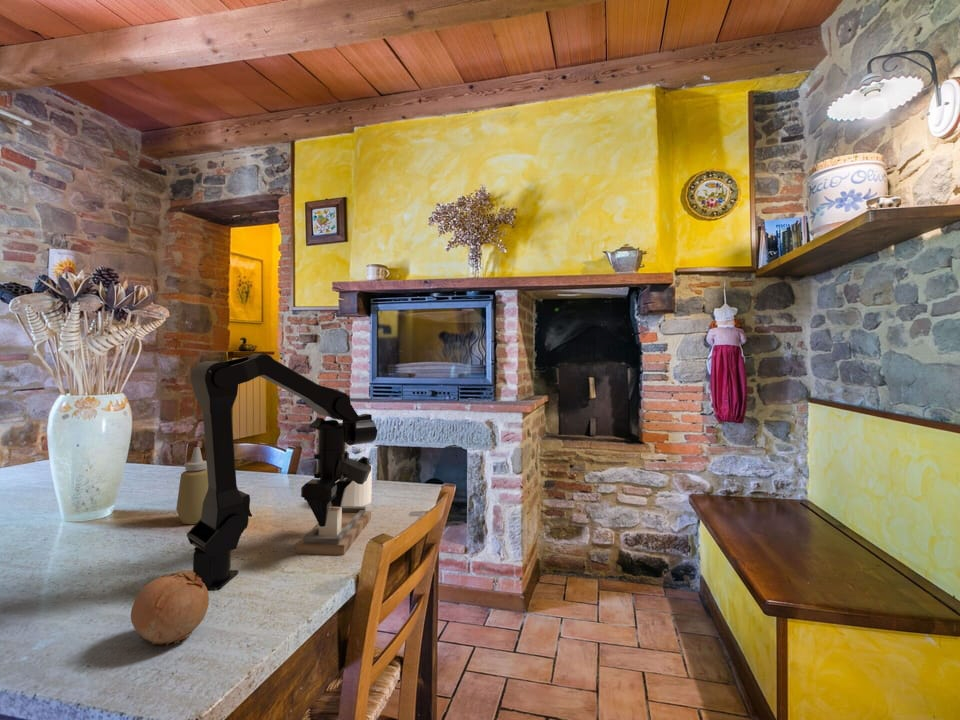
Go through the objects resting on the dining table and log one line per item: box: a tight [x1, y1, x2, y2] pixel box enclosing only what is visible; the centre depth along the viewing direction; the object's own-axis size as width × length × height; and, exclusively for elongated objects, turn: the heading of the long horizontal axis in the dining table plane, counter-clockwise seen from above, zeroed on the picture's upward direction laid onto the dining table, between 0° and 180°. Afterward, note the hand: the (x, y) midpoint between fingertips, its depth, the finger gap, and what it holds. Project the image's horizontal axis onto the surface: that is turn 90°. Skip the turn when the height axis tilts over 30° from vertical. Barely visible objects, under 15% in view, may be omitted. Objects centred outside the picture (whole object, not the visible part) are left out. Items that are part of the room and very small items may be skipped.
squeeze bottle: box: [175, 446, 208, 525], centre depth 116 cm, size 8×8×18 cm
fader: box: [319, 506, 342, 536], centre depth 105 cm, size 3×4×6 cm
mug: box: [341, 463, 373, 507], centre depth 135 cm, size 13×10×10 cm
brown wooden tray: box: [295, 506, 372, 556], centre depth 110 cm, size 22×10×3 cm, turn 179°
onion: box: [130, 570, 210, 646], centre depth 69 cm, size 10×9×10 cm
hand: (330, 519), depth 104 cm, fingers open, 9 cm apart
